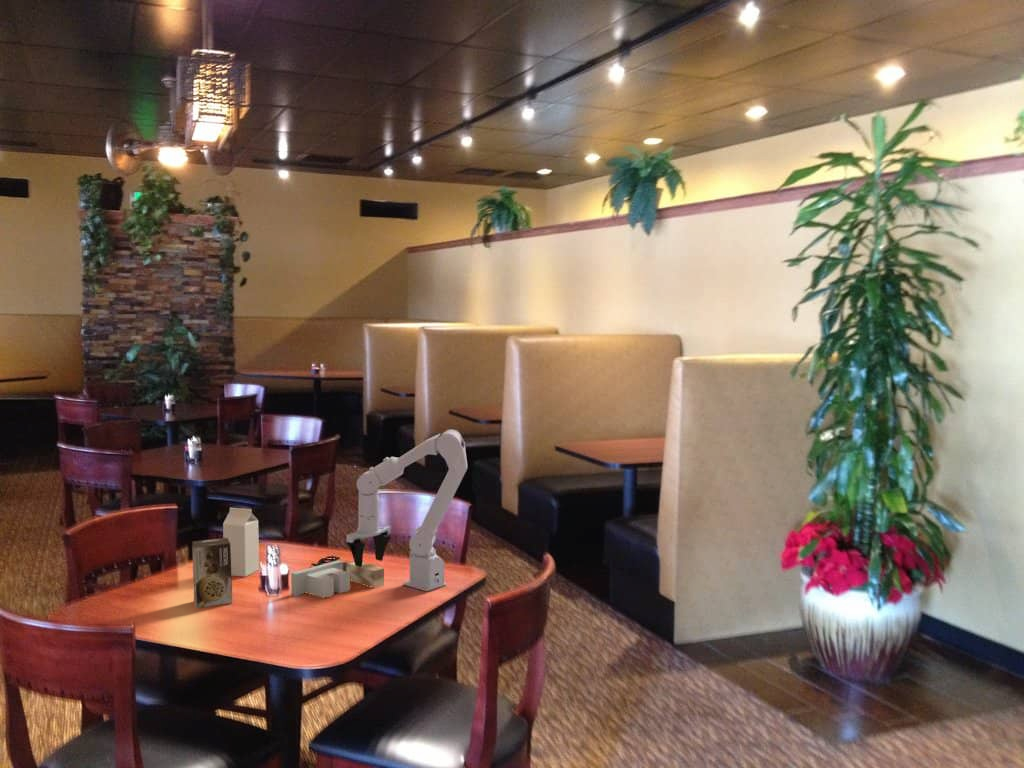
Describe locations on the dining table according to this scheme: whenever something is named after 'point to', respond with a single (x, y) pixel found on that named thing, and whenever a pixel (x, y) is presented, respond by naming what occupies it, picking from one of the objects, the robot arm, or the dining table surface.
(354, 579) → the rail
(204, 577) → the grey food box
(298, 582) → the grey stepped block
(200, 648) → the dining table surface
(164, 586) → the dining table surface
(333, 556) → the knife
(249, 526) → the milk carton
